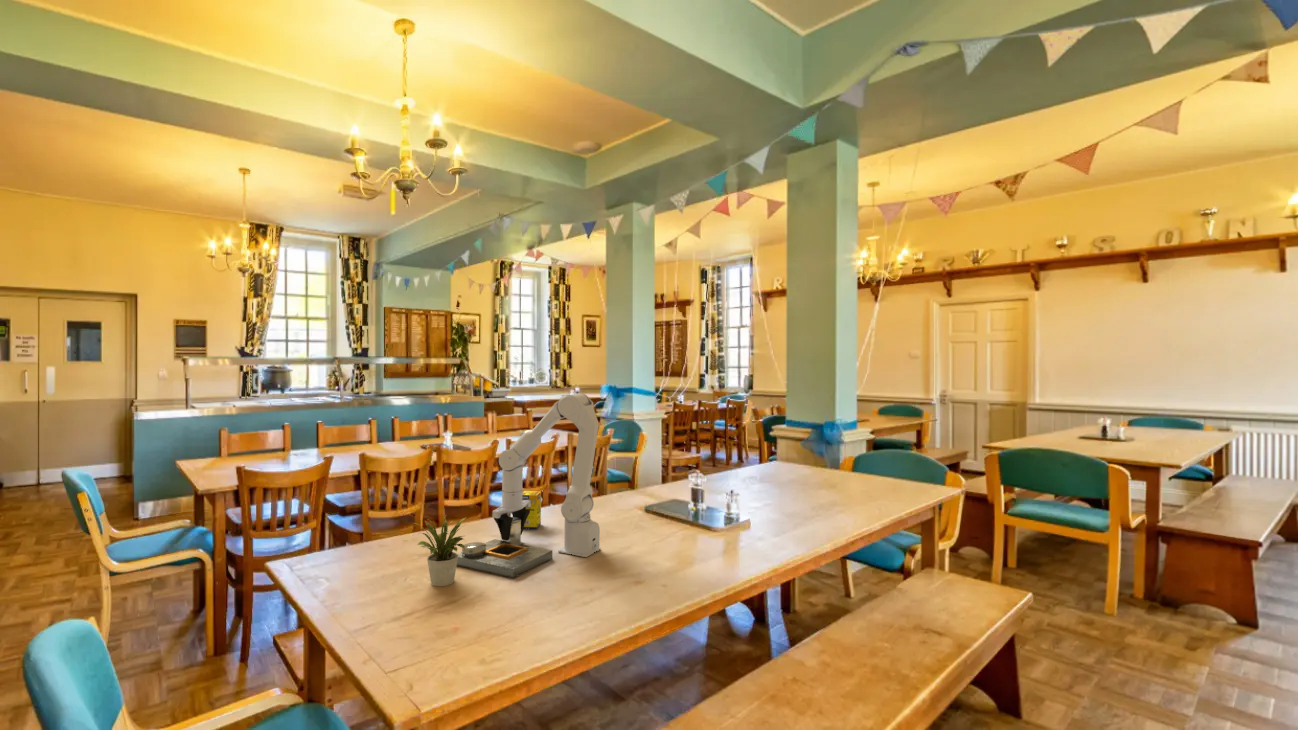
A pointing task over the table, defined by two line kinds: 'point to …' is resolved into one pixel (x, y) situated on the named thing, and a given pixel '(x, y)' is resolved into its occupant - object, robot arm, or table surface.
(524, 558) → the grey block with opening
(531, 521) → the supplement box
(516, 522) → the spout can
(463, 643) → the table surface
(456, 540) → the house plant
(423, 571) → the table surface
